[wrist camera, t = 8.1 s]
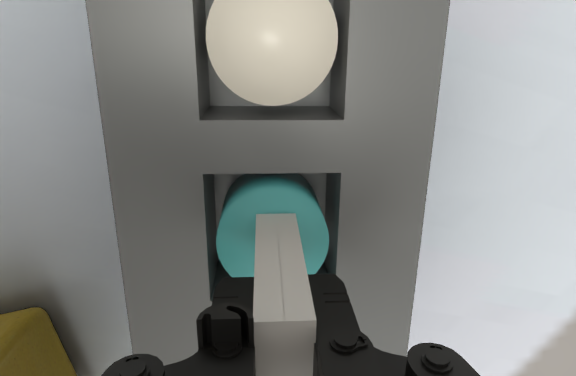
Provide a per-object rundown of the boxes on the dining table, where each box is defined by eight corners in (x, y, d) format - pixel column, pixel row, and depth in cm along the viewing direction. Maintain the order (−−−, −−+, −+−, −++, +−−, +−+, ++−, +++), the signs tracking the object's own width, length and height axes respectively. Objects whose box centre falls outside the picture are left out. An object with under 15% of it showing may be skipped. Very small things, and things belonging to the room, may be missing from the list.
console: (168, 381, 25) (147, 461, 20) (121, -66, 17) (71, -105, 13) (370, 373, 26) (395, 448, 21) (409, -59, 18) (461, -93, 14)
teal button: (224, 255, 20) (218, 293, 17) (220, 166, 19) (213, 190, 16) (317, 253, 20) (326, 290, 17) (320, 165, 19) (331, 189, 16)
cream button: (217, 94, 18) (209, 106, 15) (212, -22, 16) (201, -36, 13) (322, 94, 18) (335, 106, 15) (326, -21, 17) (341, -34, 14)
